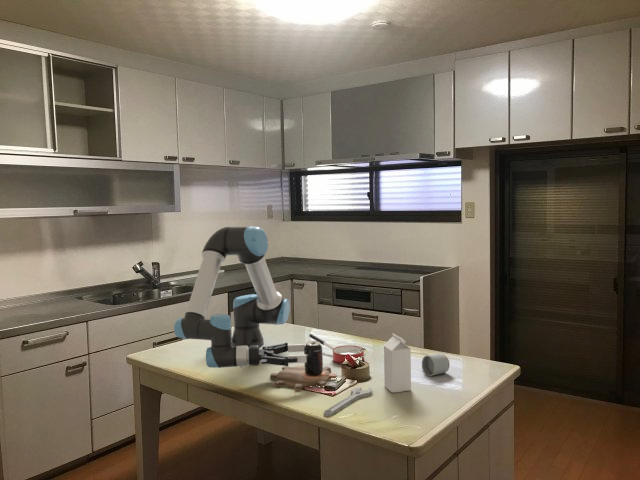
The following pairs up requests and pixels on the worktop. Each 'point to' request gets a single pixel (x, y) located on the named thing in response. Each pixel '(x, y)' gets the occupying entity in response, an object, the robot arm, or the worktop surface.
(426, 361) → the ceramic mug
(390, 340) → the milk carton
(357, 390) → the adjustable wrench
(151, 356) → the worktop surface
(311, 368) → the beverage can
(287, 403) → the worktop surface
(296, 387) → the sprocket plate
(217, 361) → the robot arm
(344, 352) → the red saucepan
